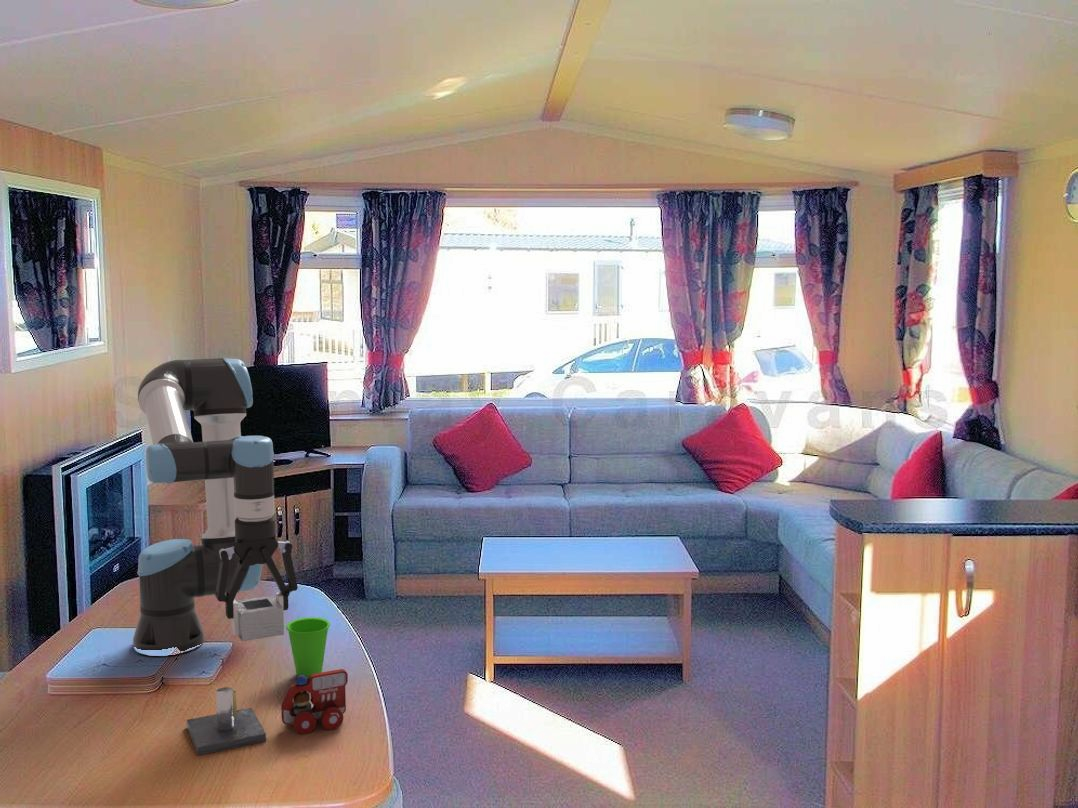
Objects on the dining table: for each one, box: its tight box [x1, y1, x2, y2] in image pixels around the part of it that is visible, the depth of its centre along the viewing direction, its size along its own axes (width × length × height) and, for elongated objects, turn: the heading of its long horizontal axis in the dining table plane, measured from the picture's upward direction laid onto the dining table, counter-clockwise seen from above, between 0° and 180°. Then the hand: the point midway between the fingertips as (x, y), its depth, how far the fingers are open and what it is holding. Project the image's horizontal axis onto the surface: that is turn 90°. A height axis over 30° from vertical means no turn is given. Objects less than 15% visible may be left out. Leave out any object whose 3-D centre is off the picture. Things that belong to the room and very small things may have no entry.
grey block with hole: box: [236, 595, 285, 642], centre depth 199 cm, size 8×8×6 cm
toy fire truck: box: [280, 668, 349, 735], centre depth 193 cm, size 7×12×10 cm, turn 113°
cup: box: [285, 616, 331, 680], centre depth 215 cm, size 9×9×11 cm
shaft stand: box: [186, 686, 267, 756], centre depth 188 cm, size 12×12×8 cm
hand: (258, 629), depth 200 cm, fingers closed on grey block with hole, 8 cm apart
